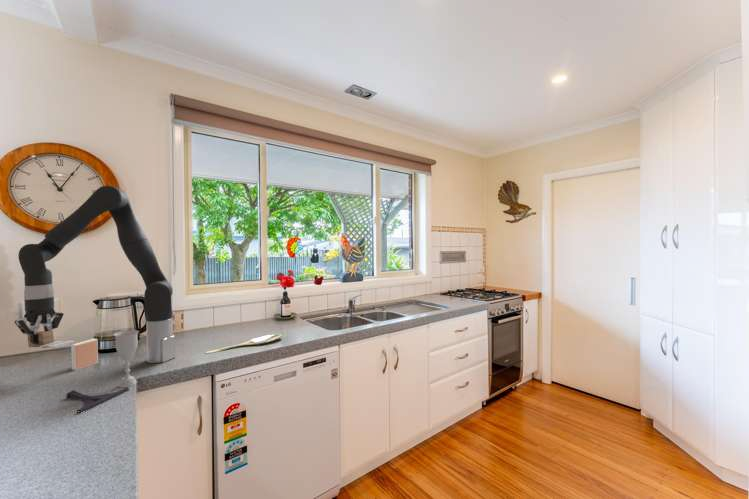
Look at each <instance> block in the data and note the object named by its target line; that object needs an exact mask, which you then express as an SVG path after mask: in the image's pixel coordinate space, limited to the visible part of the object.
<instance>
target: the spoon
mask: <svg viewBox="0 0 749 499" xmlns="http://www.w3.org/2000/svg"><path fill="white" fill-rule="evenodd" d="M281 338H282V334H280V333H277V334H276V333H275V334H268V335H262V336H260V337H255V338H253V339H250V340H248V341H245V342H242V343H239V344H234V345H229V346H224V347H221V348H217V349H212V350H208V351H206V352H205V354H207V355H208V354H214V353H218V352H222V351H225V350H228V349H231V348H235V347H241V346H253V345H254V346H257V345H258V346H259V345H263V344H264V345H265V344H268V343H271V342H273V341H277V340H278V339H281Z"/></svg>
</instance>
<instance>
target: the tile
mask: <svg viewBox="0 0 749 499" xmlns="http://www.w3.org/2000/svg"><path fill="white" fill-rule="evenodd" d="M70 345H71V346H70V347H71V349H70V350H71V370H72V371H79V370H81V369H83V368H84V369H85V368H87V367H90V366H93V365H95V364H98V363H99V359H98V358H99V352H98V350H99V347H98V346H99V345H98V338H91V339H87V340H84V341H80V342H77V343H74V344H73V343H71V344H70Z"/></svg>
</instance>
